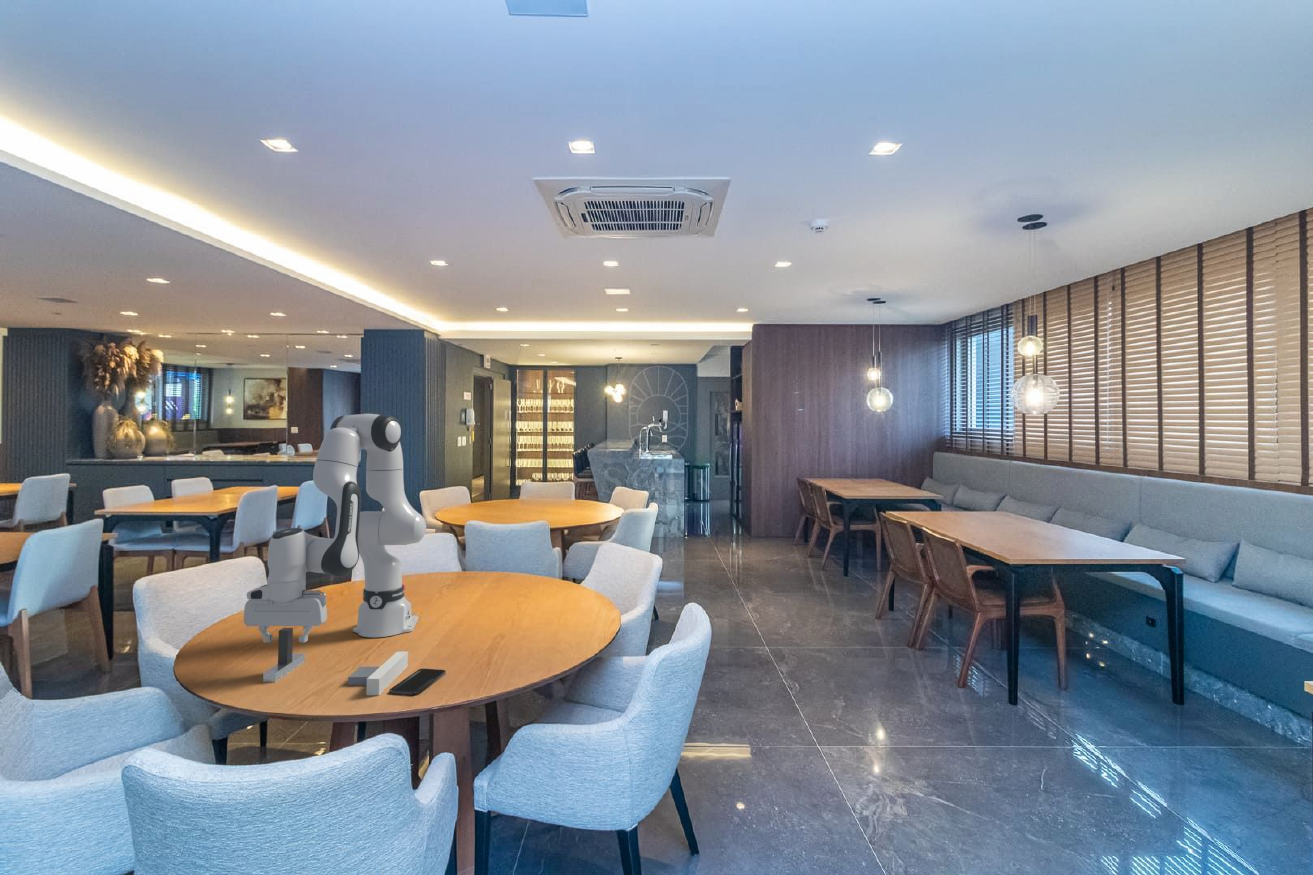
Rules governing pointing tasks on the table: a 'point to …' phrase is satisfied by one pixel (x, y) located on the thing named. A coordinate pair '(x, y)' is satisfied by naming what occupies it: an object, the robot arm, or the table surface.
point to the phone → (417, 682)
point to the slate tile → (361, 675)
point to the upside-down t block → (284, 657)
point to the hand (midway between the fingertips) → (285, 641)
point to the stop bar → (386, 673)
